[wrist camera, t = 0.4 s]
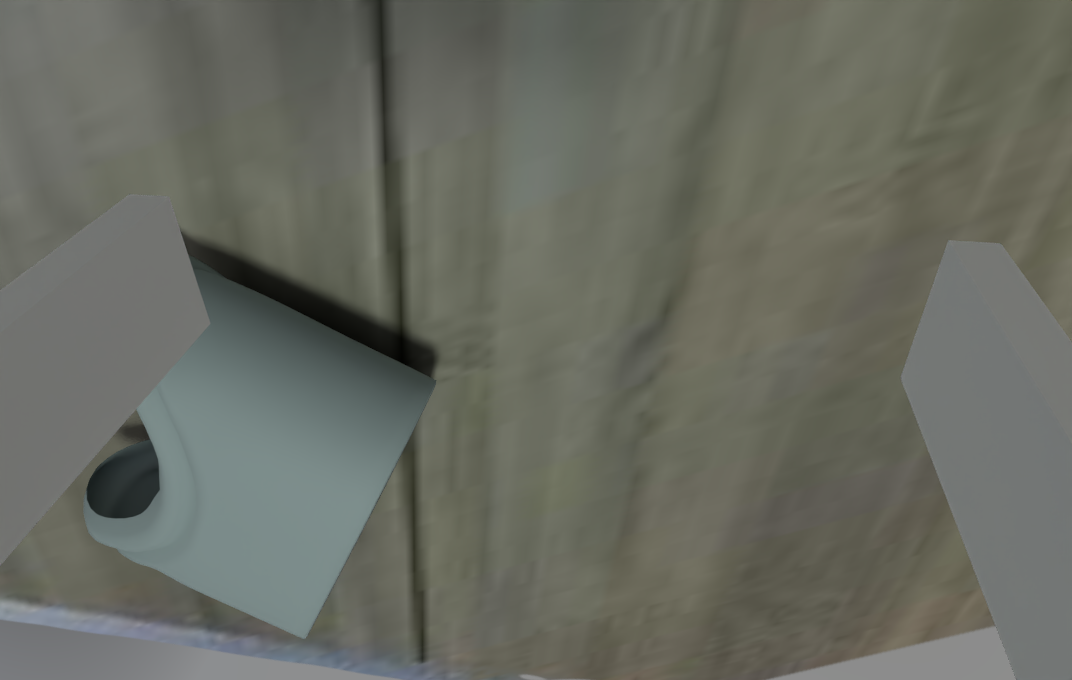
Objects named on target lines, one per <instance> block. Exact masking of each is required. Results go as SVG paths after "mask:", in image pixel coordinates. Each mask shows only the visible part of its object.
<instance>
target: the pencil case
mask: <svg viewBox="0 0 1072 680" xmlns="http://www.w3.org/2000/svg"><path fill="white" fill-rule="evenodd" d="M188 256H189V259H190V262H191V265H192V268H193V271H194V274H195V277H196V281H197V284H198V287H199V290H200V293H201V296H202V299H203V302H204V305H205V308H206V311H207V314H208V317H209V320H210V325H209V326H208V327H207V328H206V329H205V330H204V332H203V333H202V334H201V335H200V336H199V337H198V338H197V340H196V341H195V342H194V343H193V344H192V345H191V347H190V348H189V349H188V350H187V351H186V352H185V353H184V355H183V356H182V357H181V358H180V359H179V360H178V361H177V363H176V364H175V365H174V366H173V367H172V368H171V370H170V371H169V372H168V373H167V374H166V375H165V376H164V378H163V379H162V380H161V381H160V382H159V383H158V385H157V386H156V387H155V388H154V389H153V390H152V391H151V393H150V394H149V395H148V396H147V397H146V398H145V399H144V401H143V402H142V403H141V404H140V405H139V406H138V408H137V409H136V410H137V412H138V414H139V416H140V418H141V420H142V422H143V424H144V426H145V428H146V431H147V433H148V435H149V437H150V439H149V440H146V441H142V442H139V443H137V444H134V445H131V446H129V447H126V448H124V449H122V450H120V451H118V452H116V453H115V454H113V455H112V456H110V457H109V458H107V459H106V460H105V461H104V462H103V463H101V464H100V465H99V466H98V467H97V469H96V470H95V472H94V473H93V475H92V476H91V478H90V480H89V483H88V486H87V490H86V493H85V497H84V517H85V522H86V525H87V528H88V532H89V534H90V535H91V536H92V537H93V538H94V539H95V540H96V541H98V542H100V543H102V544H104V545H107V546H110V547H114V548H117V549H118V551H119V552H120V553H121V554H122V555H124V556H125V557H127V558H128V559H130V560H132V561H134V562H136V563H138V564H141V565H145V566H148V567H151V568H154V569H156V570H158V571H160V572H162V573H164V574H166V575H167V576H169V577H171V578H173V579H175V580H177V581H178V582H180V583H182V584H184V585H186V586H188V587H190V588H192V589H194V590H196V591H198V592H201V593H203V594H205V595H207V596H209V597H211V598H214V599H216V600H218V601H220V602H223V603H225V604H227V605H229V606H232V607H234V608H236V609H238V610H241V611H243V612H245V613H247V614H249V615H252V616H254V617H256V618H258V619H261V620H263V621H265V622H267V623H269V624H272V625H274V626H276V627H278V628H280V629H283V630H285V631H287V632H289V633H291V634H294V635H296V636H298V637H301V638H303V639H305V638H306V637H307V636H308V634H309V632H310V630H311V628H312V626H313V625H314V623H315V621H316V619H317V617H318V615H319V613H320V611H321V609H322V607H323V605H324V604H325V602H326V600H327V598H328V596H329V594H330V592H331V590H332V588H333V586H334V585H335V583H336V581H337V579H338V577H339V575H340V573H341V571H342V569H343V567H344V565H345V563H346V562H347V560H348V558H349V556H350V554H351V552H352V550H353V548H354V546H355V544H356V542H357V540H358V539H359V537H360V535H361V533H362V531H363V529H364V527H365V525H366V523H367V521H368V519H369V517H370V515H371V513H372V511H373V509H374V508H375V506H376V504H377V502H378V500H379V498H380V496H381V494H382V492H383V490H384V488H385V486H386V484H387V482H388V480H389V478H390V476H391V474H392V472H393V470H394V468H395V466H396V464H397V462H398V460H399V458H400V456H401V454H402V452H403V450H404V448H405V446H406V444H407V442H408V440H409V438H410V436H411V434H412V432H413V430H414V428H415V426H416V424H417V422H418V420H419V418H420V416H421V414H422V412H423V410H424V408H425V406H426V404H427V402H428V400H429V398H430V396H431V394H432V392H433V390H434V387H435V385H436V380H434V379H432V378H430V377H428V376H426V375H424V374H422V373H420V372H418V371H416V370H414V369H412V368H410V367H408V366H406V365H404V364H402V363H400V362H398V361H396V360H394V359H392V358H390V357H388V356H386V355H384V354H382V353H379V352H377V351H375V350H373V349H371V348H369V347H367V346H365V345H363V344H361V343H359V342H357V341H355V340H353V339H351V338H349V337H347V336H345V335H343V334H341V333H339V332H337V331H335V330H333V329H331V328H329V327H327V326H325V325H323V324H321V323H319V322H317V321H315V320H313V319H311V318H309V317H307V316H305V315H303V314H301V313H299V312H297V311H295V310H293V309H291V308H289V307H287V306H285V305H283V304H281V303H279V302H277V301H275V300H273V299H271V298H269V297H267V296H265V295H263V294H260V293H258V292H256V291H254V290H252V289H249V288H247V287H245V286H243V285H240V284H238V283H236V282H233V281H231V280H228V279H226V278H225V277H224V276H223V275H221V274H220V273H218V272H217V271H215V270H214V269H213V268H211V267H210V266H208V265H207V264H205V263H203V262H201V261H200V260H198V259H196V258H195V257H192V256H190V255H188Z"/></svg>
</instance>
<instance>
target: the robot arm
mask: <svg viewBox="0 0 1072 680" xmlns="http://www.w3.org/2000/svg"><path fill="white" fill-rule="evenodd" d="M209 325H210V320H209V317H208V314H207V311H206V308H205V305H204V302H203V299H202V296H201V293H200V290H199V287H198V284H197V281H196V277H195V274H194V271H193V268H192V265H191V262H190V259H189V256H188V253H187V250H186V247H185V244H184V241H183V237H182V234H181V231H180V228H179V225H178V222H177V219H176V216H175V213H174V210H173V207H172V204H171V201H170V198H169V196H151V195H133V194H129V195H128V196H127V197H125V198H124V199H123V200H121V201H120V202H119V203H117V204H116V205H114V206H113V207H112V208H110V209H109V210H108V211H106V212H105V213H104V214H102V215H101V216H100V217H98V218H97V219H96V220H94V221H93V222H92V223H90V224H89V225H88V226H86V227H85V228H84V229H82V230H81V231H79V232H78V233H77V234H75V235H74V236H73V237H71V238H70V239H69V240H67V241H66V242H65V243H63V244H62V245H61V246H59V247H58V248H57V249H55V250H54V251H53V252H51V253H50V254H48V255H47V256H46V257H44V258H43V259H42V260H40V261H39V262H38V263H36V264H35V265H34V266H32V267H31V268H30V269H28V270H27V271H26V272H24V273H23V274H22V275H20V276H19V277H18V278H16V279H15V280H13V281H12V282H11V283H9V284H8V285H7V286H5V287H4V288H3V289H1V290H0V565H1V564H2V563H3V562H4V560H5V559H6V558H7V557H8V556H9V555H10V554H11V552H12V551H13V550H14V549H15V548H16V547H17V546H18V544H19V543H20V542H21V541H22V540H23V539H24V537H25V536H26V535H27V534H28V533H29V532H30V531H31V529H32V528H33V527H34V526H35V525H36V524H37V523H38V521H39V520H40V519H41V518H42V517H43V516H44V514H45V513H46V512H47V511H48V510H49V509H50V508H51V506H52V505H53V504H54V503H55V502H56V501H57V500H58V498H59V497H60V496H61V495H62V494H63V493H64V491H65V490H66V489H67V488H68V487H69V486H70V485H71V483H72V482H73V481H74V480H75V479H76V478H77V477H78V475H79V474H80V473H81V472H82V471H83V470H84V468H85V467H86V466H87V465H88V464H89V463H90V462H91V460H92V459H93V458H94V457H95V456H96V455H97V454H98V452H99V451H100V450H101V449H102V448H103V447H104V445H105V444H106V443H107V442H108V441H109V440H110V439H111V437H112V436H113V435H114V434H115V433H116V432H117V431H118V429H119V428H120V427H121V426H122V425H123V424H124V422H125V421H126V420H127V419H128V418H129V417H130V416H131V414H132V413H133V412H134V411H135V410H136V409H137V408H138V406H139V405H140V404H141V403H142V402H143V401H144V399H145V398H146V397H147V396H148V395H149V394H150V393H151V391H152V390H153V389H154V388H155V387H156V386H157V385H158V383H159V382H160V381H161V380H162V379H163V378H164V376H165V375H166V374H167V373H168V372H169V371H170V370H171V368H172V367H173V366H174V365H175V364H176V363H177V361H178V360H179V359H180V358H181V357H182V356H183V355H184V353H185V352H186V351H187V350H188V349H189V348H190V347H191V345H192V344H193V343H194V342H195V341H196V340H197V338H198V337H199V336H200V335H201V334H202V333H203V332H204V330H205V329H206V328H207V327H208V326H209ZM901 381H902V383H903V386H904V388H905V391H906V394H907V396H908V399H909V401H910V404H911V407H912V409H913V412H914V415H915V417H916V420H917V422H918V425H919V428H920V430H921V433H922V435H923V438H924V441H925V443H926V446H927V448H928V451H929V454H930V456H931V459H932V461H933V464H934V467H935V469H936V472H937V474H938V477H939V480H940V482H941V485H942V488H943V490H944V493H945V495H946V498H947V501H948V503H949V506H950V508H951V511H952V514H953V516H954V519H955V521H956V524H957V527H958V529H959V532H960V534H961V537H962V540H963V542H964V545H965V548H966V550H967V553H968V555H969V558H970V561H971V563H972V566H973V568H974V571H975V574H976V576H977V579H978V581H979V584H980V587H981V589H982V592H983V594H984V597H985V600H986V602H987V605H988V607H989V610H990V613H991V615H992V618H993V621H994V623H995V626H996V628H997V631H998V633H999V636H1000V639H1001V641H1002V644H1003V647H1004V649H1005V652H1006V654H1007V657H1008V660H1009V662H1010V665H1011V667H1012V670H1013V672H1014V675H1015V678H1016V680H1072V342H1071V340H1070V339H1069V338H1068V336H1067V335H1066V334H1065V332H1064V331H1063V329H1062V328H1061V327H1060V325H1059V324H1058V322H1057V321H1056V320H1055V318H1054V317H1053V315H1052V314H1051V313H1050V311H1049V310H1048V308H1047V307H1046V306H1045V304H1044V303H1043V301H1042V300H1041V299H1040V297H1039V296H1038V295H1037V293H1036V292H1035V290H1034V289H1033V288H1032V286H1031V285H1030V283H1029V282H1028V281H1027V279H1026V278H1025V276H1024V275H1023V274H1022V272H1021V271H1020V269H1019V268H1018V267H1017V265H1016V264H1015V262H1014V261H1013V260H1012V258H1011V257H1010V256H1009V254H1008V253H1007V251H1006V250H1005V249H1004V247H1003V246H1002V244H1001V243H985V242H967V241H950V240H948V243H947V246H946V249H945V252H944V255H943V258H942V260H941V263H940V266H939V269H938V272H937V275H936V278H935V280H934V283H933V286H932V289H931V292H930V295H929V298H928V300H927V303H926V306H925V309H924V312H923V315H922V318H921V321H920V323H919V326H918V329H917V332H916V335H915V338H914V341H913V343H912V346H911V349H910V352H909V355H908V358H907V361H906V363H905V366H904V369H903V372H902V375H901Z"/></svg>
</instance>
